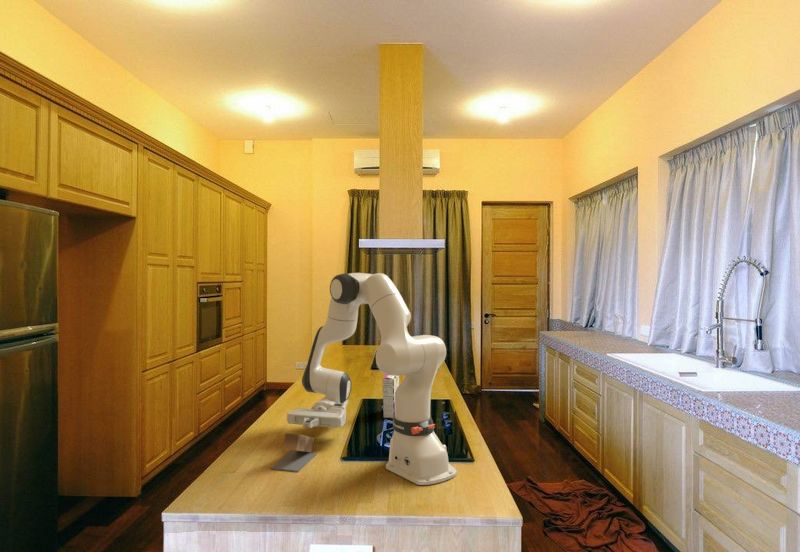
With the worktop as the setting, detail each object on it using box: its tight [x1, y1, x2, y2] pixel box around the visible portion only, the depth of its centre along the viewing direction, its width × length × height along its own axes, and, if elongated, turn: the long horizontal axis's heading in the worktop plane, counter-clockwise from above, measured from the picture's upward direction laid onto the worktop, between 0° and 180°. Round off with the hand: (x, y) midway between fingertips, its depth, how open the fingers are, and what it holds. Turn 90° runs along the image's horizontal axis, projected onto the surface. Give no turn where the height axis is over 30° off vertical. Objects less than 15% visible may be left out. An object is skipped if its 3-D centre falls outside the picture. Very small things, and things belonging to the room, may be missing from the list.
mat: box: [270, 450, 317, 473], centre depth 139 cm, size 13×9×1 cm
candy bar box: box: [382, 375, 400, 419], centre depth 185 cm, size 11×5×16 cm, turn 168°
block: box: [282, 433, 315, 453], centre depth 142 cm, size 5×4×12 cm
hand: (306, 425), depth 147 cm, fingers closed
